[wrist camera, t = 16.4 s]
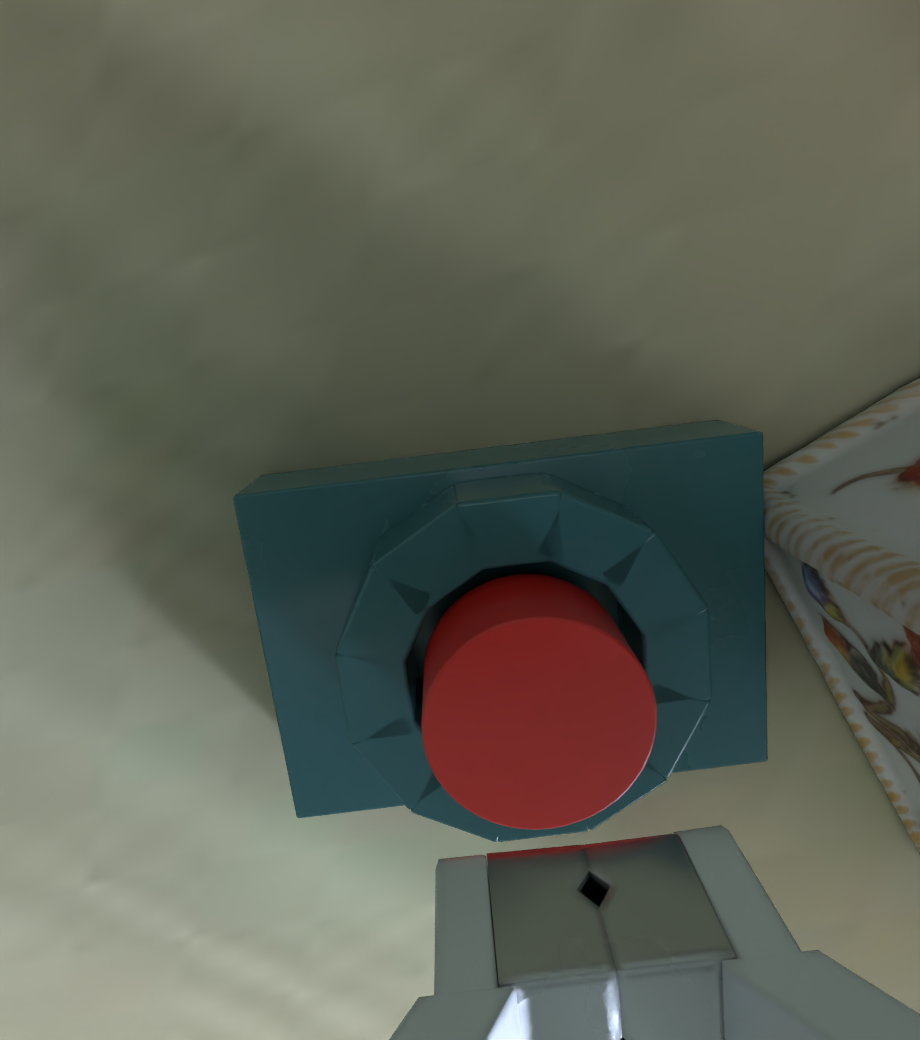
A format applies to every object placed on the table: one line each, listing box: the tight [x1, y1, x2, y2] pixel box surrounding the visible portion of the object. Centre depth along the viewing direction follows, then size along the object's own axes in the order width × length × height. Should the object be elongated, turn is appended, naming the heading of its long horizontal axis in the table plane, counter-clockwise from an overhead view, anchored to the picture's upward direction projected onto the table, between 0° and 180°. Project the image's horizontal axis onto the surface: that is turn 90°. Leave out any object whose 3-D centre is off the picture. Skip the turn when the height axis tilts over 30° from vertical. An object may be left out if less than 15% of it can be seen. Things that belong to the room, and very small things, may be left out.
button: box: [421, 574, 657, 830], centre depth 12 cm, size 4×4×2 cm
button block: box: [233, 420, 768, 842], centre depth 14 cm, size 10×7×4 cm
